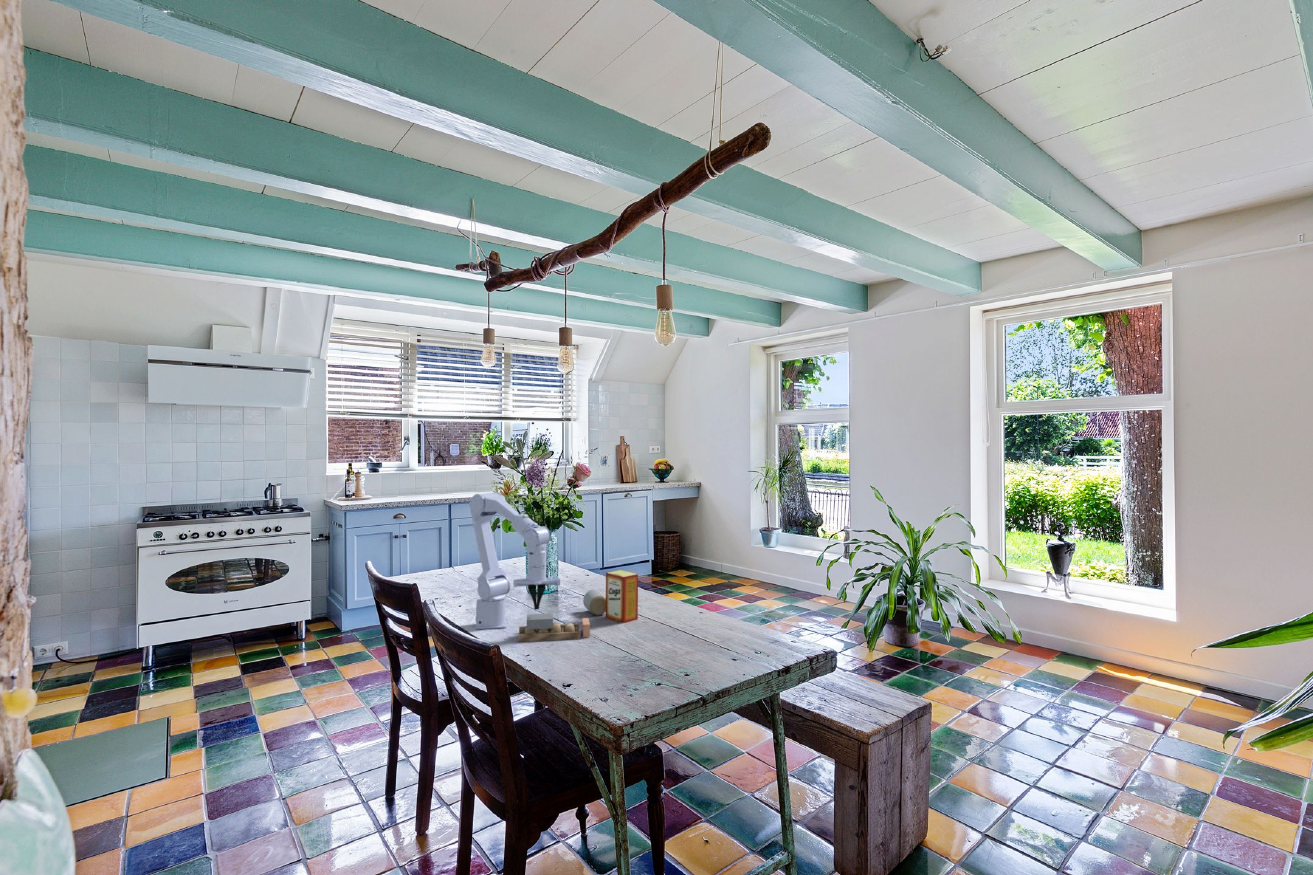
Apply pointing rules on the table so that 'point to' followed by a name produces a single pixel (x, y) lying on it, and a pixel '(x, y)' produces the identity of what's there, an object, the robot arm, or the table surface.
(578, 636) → the roller track
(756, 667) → the table surface
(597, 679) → the table surface
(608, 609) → the baking soda box
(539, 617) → the slab
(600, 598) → the ceramic mug
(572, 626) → the roller
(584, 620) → the block
